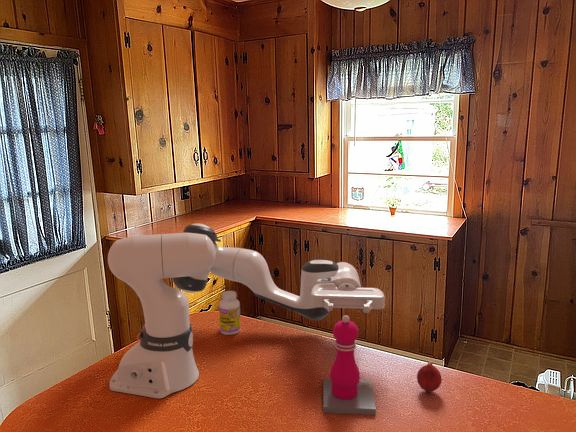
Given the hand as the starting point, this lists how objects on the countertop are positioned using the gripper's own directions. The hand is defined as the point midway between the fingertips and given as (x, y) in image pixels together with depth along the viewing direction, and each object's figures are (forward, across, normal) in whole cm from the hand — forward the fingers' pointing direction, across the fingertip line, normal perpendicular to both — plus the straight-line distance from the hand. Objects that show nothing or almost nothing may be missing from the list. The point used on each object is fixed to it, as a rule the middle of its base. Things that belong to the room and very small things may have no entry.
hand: (348, 309), depth 120 cm
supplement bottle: (-22, +36, -18) cm, 46 cm away
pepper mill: (+12, +1, -16) cm, 20 cm away
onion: (+8, -20, -18) cm, 28 cm away
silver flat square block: (+12, 0, -18) cm, 22 cm away
